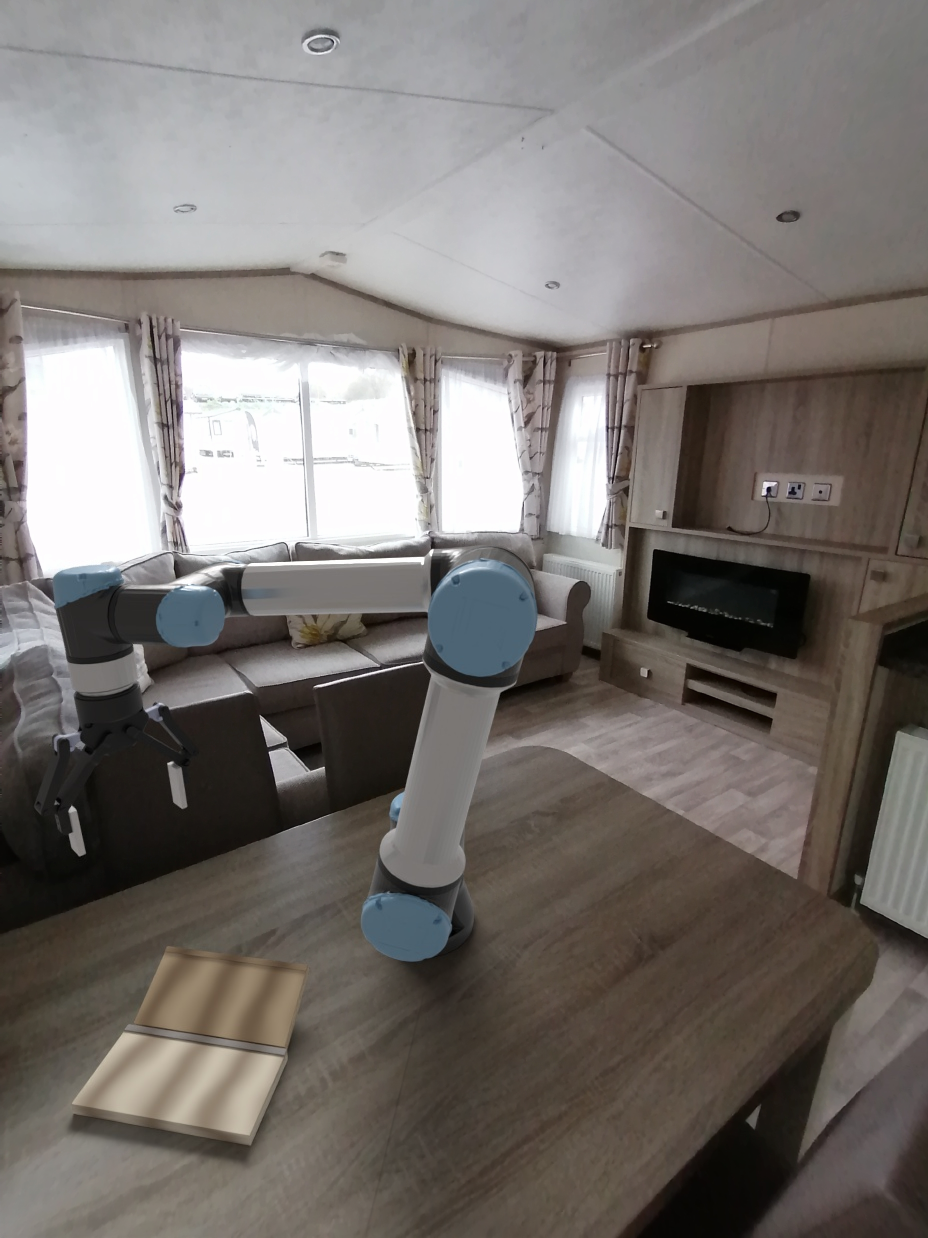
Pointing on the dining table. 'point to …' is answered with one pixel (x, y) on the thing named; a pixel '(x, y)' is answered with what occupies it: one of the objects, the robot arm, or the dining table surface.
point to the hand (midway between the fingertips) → (132, 826)
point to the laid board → (184, 1084)
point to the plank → (225, 996)
